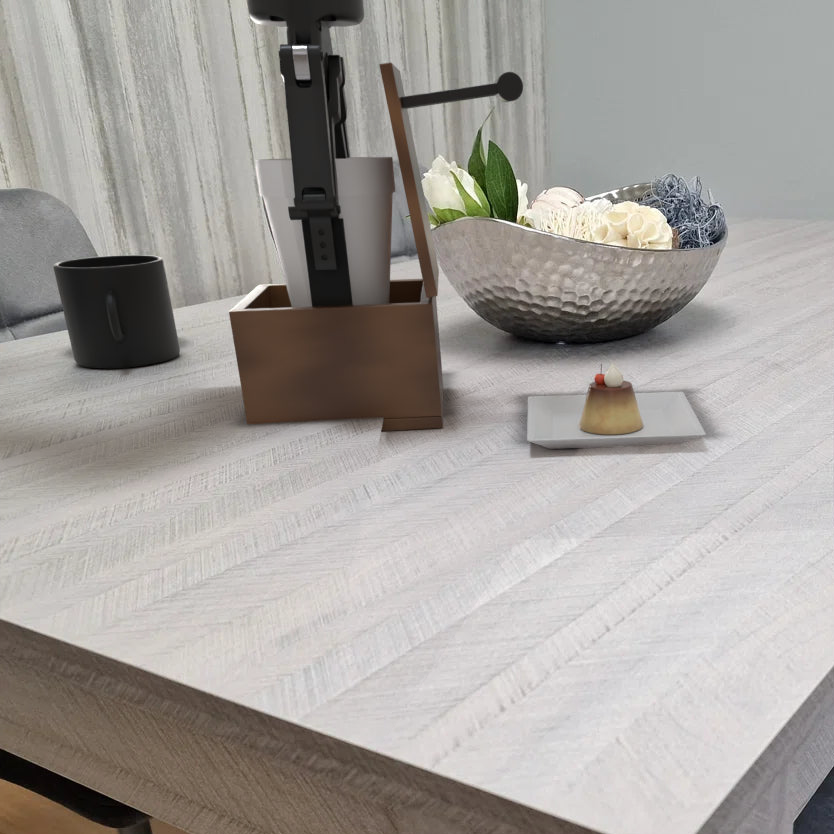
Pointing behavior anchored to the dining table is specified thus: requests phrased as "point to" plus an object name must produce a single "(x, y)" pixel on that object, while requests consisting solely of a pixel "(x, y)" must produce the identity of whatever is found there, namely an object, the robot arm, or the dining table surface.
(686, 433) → the dessert
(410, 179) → the wooden box lid
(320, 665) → the dining table surface
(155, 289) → the mug
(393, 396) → the basket
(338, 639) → the dining table surface
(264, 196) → the foam cup
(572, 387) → the dining table surface
